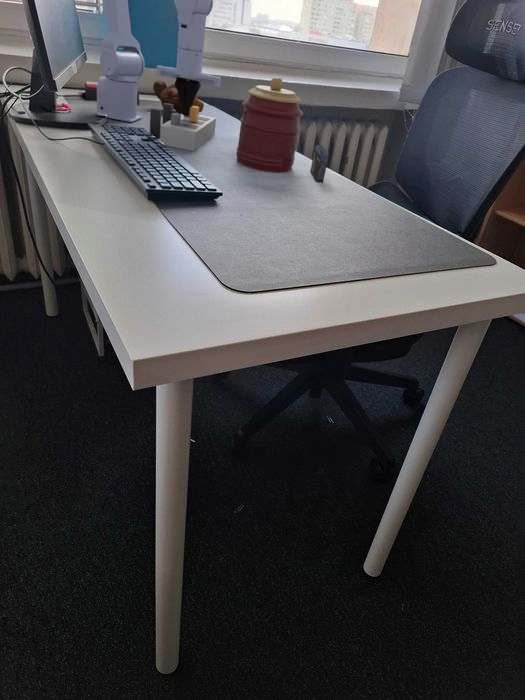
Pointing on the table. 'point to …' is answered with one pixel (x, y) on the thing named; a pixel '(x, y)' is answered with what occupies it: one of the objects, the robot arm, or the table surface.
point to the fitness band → (63, 106)
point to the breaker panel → (187, 131)
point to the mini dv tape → (319, 163)
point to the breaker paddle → (194, 113)
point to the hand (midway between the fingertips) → (185, 115)
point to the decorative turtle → (172, 96)
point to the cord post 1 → (155, 122)
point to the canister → (269, 128)
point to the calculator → (92, 91)
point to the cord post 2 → (167, 112)
